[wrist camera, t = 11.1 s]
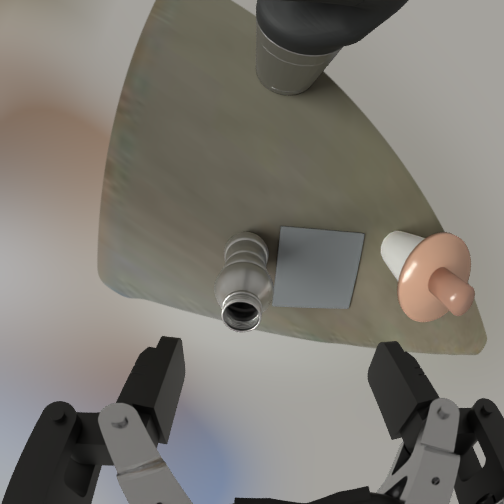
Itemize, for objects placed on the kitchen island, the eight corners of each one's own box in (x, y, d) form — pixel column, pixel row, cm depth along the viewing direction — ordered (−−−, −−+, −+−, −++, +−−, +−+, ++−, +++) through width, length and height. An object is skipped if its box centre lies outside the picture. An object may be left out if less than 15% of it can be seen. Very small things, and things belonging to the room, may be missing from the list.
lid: (409, 227, 29) (442, 245, 22) (475, 236, 29) (506, 252, 22) (386, 320, 33) (407, 351, 27) (451, 316, 33) (474, 340, 27)
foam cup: (424, 240, 43) (467, 266, 31) (397, 280, 45) (432, 316, 33) (392, 211, 41) (435, 232, 29) (362, 256, 44) (396, 290, 32)
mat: (280, 225, 42) (280, 226, 42) (363, 233, 43) (364, 233, 42) (272, 304, 47) (272, 306, 47) (347, 307, 47) (348, 308, 47)
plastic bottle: (231, 223, 42) (212, 276, 24) (273, 235, 43) (287, 296, 24) (221, 260, 44) (199, 334, 26) (261, 271, 45) (265, 350, 26)
